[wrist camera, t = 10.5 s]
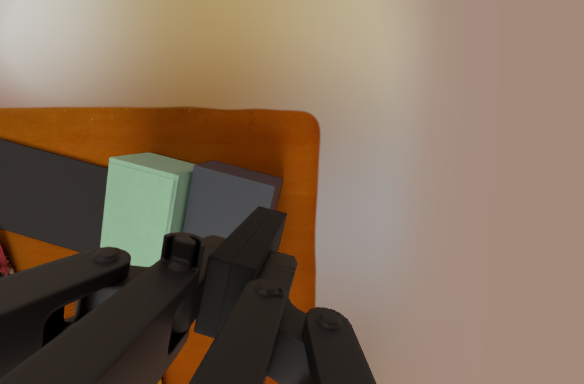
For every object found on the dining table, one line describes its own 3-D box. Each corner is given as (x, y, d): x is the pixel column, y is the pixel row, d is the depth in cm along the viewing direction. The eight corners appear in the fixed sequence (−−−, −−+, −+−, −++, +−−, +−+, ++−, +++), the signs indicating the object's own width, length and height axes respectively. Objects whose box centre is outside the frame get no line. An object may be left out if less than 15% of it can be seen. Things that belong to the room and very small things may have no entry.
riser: (212, 160, 43) (193, 165, 38) (283, 178, 43) (275, 186, 37) (191, 277, 47) (171, 298, 41) (255, 296, 46) (244, 320, 41)
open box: (207, 167, 43) (149, 152, 44) (178, 175, 36) (109, 157, 36) (188, 272, 47) (135, 256, 48) (159, 300, 39) (96, 281, 40)
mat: (-7, 137, 47) (-9, 137, 47) (189, 190, 45) (188, 190, 44) (-10, 224, 50) (-12, 225, 50) (174, 279, 48) (173, 279, 47)
